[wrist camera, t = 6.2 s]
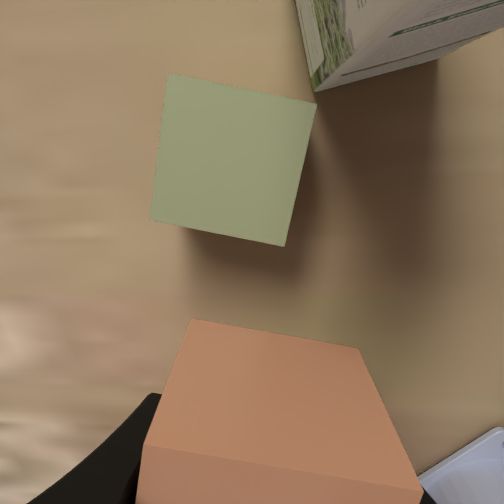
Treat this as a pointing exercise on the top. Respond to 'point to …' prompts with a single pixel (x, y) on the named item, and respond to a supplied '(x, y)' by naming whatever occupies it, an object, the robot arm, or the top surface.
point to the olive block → (229, 159)
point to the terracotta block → (271, 426)
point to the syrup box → (387, 34)
